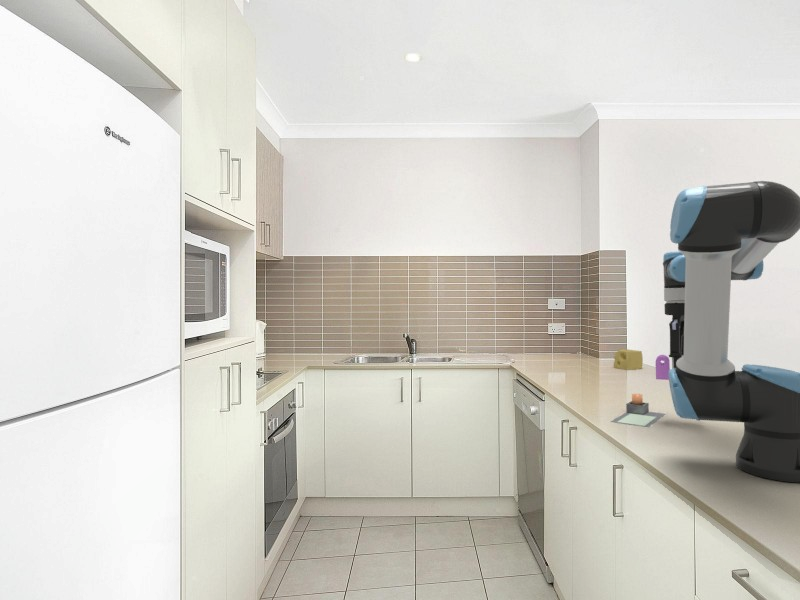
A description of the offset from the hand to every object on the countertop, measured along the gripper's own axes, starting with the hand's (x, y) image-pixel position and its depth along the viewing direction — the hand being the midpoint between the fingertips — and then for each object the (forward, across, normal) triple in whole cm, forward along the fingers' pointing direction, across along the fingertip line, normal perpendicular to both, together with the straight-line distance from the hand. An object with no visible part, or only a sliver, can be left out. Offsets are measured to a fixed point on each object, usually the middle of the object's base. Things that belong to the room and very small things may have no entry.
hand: (680, 377), depth 148 cm
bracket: (+1, 0, 0) cm, 1 cm away
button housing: (+14, +9, +15) cm, 22 cm away
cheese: (+15, +114, +48) cm, 124 cm away
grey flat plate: (+15, +1, +12) cm, 19 cm away
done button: (+12, +9, +15) cm, 21 cm away
